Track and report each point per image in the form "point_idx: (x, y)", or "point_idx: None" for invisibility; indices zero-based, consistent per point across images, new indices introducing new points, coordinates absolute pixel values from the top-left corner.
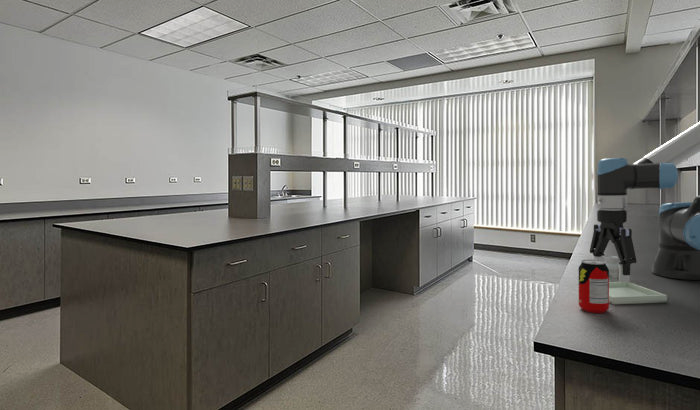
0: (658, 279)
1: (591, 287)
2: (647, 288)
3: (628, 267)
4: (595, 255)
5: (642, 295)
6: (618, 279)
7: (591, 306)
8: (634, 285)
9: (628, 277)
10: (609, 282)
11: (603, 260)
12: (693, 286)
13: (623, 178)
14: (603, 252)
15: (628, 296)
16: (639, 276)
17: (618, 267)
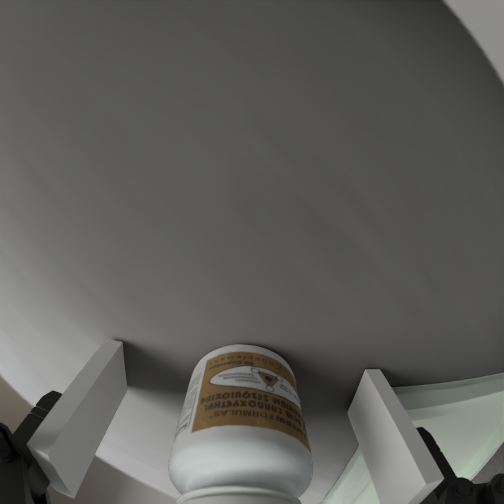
0: (278, 10)
1: None
2: (499, 392)
3: (443, 475)
4: (47, 492)
5: (502, 440)
6: (297, 392)
7: None
8: (451, 411)
9: (398, 409)
10: (363, 478)
11: (66, 436)
12: (461, 23)
13: None
14: (27, 491)
15: (479, 469)
16: (151, 59)
17: (311, 464)
